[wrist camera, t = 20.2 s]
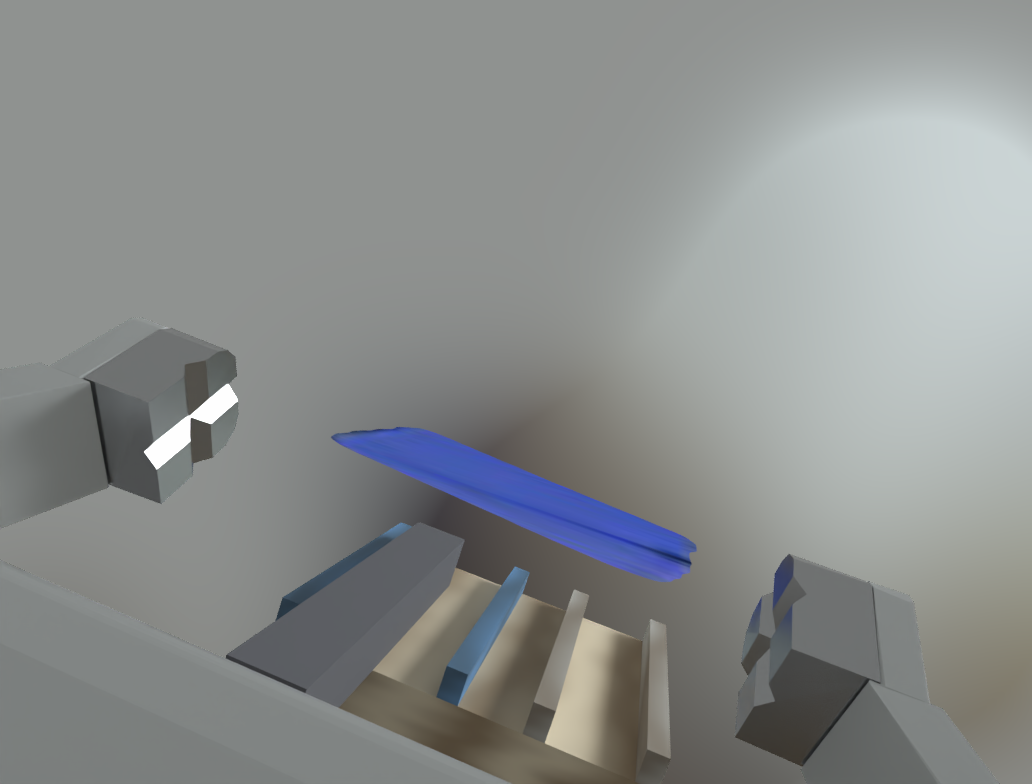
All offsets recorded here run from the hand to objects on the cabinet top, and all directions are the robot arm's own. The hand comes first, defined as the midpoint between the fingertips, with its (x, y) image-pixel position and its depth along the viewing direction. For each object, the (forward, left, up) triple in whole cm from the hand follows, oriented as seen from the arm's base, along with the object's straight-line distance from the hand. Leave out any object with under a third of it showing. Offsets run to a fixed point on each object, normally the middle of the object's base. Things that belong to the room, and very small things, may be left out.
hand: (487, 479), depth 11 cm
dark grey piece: (+7, -23, -14) cm, 28 cm away
